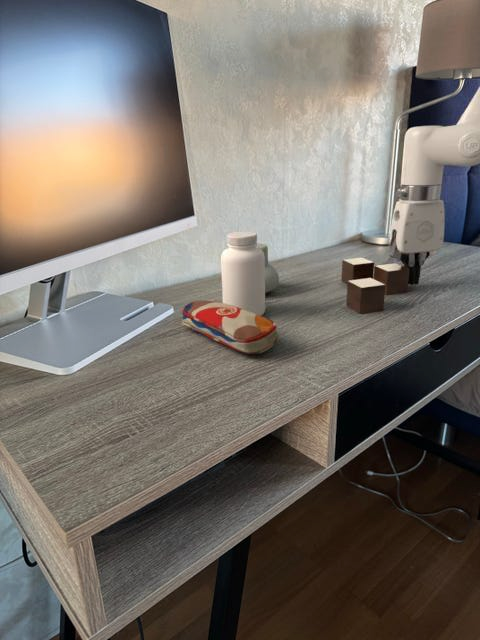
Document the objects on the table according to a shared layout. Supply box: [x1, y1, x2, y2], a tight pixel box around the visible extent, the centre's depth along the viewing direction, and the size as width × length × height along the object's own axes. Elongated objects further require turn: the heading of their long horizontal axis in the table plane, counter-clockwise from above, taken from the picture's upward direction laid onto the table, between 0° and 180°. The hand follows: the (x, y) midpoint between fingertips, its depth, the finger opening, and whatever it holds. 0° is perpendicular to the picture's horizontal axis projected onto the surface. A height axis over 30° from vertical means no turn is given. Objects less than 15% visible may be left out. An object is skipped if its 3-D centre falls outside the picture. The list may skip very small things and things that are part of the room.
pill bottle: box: [220, 231, 266, 316], centre depth 81 cm, size 8×8×15 cm
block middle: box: [373, 262, 410, 296], centre depth 93 cm, size 5×5×5 cm
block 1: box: [340, 257, 375, 285], centre depth 98 cm, size 5×5×5 cm
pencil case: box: [181, 300, 278, 355], centre depth 73 cm, size 11×20×5 cm, turn 25°
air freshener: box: [256, 242, 280, 294], centre depth 95 cm, size 11×8×10 cm
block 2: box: [346, 278, 386, 315], centre depth 83 cm, size 5×5×5 cm
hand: (410, 282), depth 94 cm, fingers closed
